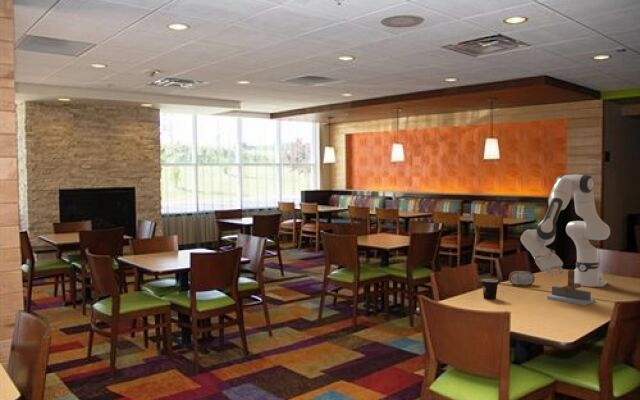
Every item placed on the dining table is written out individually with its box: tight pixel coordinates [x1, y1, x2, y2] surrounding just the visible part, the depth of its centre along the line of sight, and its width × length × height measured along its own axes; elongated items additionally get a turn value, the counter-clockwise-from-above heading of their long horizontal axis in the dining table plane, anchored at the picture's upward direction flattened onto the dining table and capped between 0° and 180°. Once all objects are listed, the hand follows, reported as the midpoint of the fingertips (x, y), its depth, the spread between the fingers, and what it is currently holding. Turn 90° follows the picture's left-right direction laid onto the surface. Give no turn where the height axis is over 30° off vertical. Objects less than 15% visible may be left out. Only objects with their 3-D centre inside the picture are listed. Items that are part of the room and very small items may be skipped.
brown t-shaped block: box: [560, 269, 582, 292], centre depth 287 cm, size 18×2×10 cm, turn 130°
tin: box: [508, 270, 535, 286], centre depth 328 cm, size 15×3×8 cm, turn 84°
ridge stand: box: [546, 285, 596, 306], centre depth 288 cm, size 13×20×6 cm, turn 40°
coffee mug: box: [481, 278, 499, 301], centre depth 294 cm, size 12×9×10 cm
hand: (559, 274), depth 292 cm, fingers open, 8 cm apart
